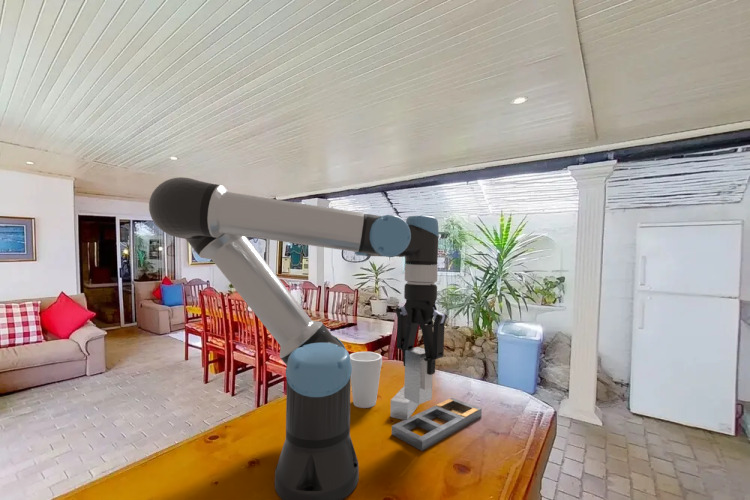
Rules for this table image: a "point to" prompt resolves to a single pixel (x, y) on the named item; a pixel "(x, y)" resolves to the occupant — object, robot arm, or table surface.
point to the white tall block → (415, 376)
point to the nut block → (402, 406)
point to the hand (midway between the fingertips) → (418, 384)
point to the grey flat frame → (447, 410)
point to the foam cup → (365, 378)
